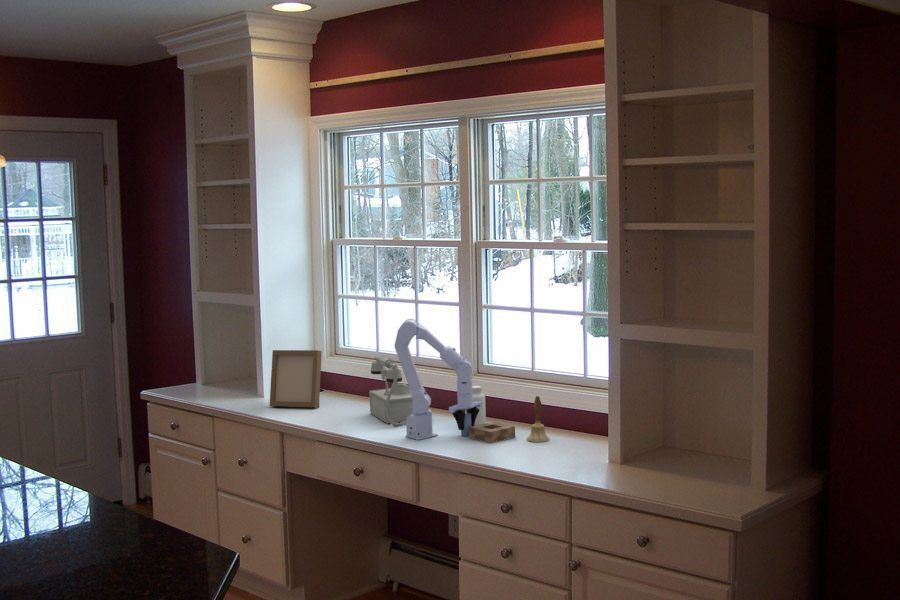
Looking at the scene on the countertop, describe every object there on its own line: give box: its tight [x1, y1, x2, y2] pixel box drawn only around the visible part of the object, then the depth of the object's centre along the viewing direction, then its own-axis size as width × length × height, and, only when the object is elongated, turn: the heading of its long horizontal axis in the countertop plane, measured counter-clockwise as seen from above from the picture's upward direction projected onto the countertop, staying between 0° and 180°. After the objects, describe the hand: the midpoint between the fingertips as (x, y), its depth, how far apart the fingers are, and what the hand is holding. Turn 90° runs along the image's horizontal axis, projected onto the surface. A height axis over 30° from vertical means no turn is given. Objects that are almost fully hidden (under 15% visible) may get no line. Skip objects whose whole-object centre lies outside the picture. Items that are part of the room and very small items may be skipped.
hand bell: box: [526, 395, 550, 443], centre depth 354 cm, size 8×8×16 cm
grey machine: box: [368, 355, 413, 427], centre depth 400 cm, size 32×20×25 cm, turn 21°
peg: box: [460, 412, 472, 437], centre depth 366 cm, size 4×4×8 cm
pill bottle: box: [464, 385, 487, 426], centre depth 383 cm, size 8×8×15 cm
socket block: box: [468, 421, 516, 444], centre depth 361 cm, size 12×12×4 cm
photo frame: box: [269, 349, 323, 408], centre depth 433 cm, size 15×22×25 cm
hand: (466, 428), depth 366 cm, fingers open, 4 cm apart
